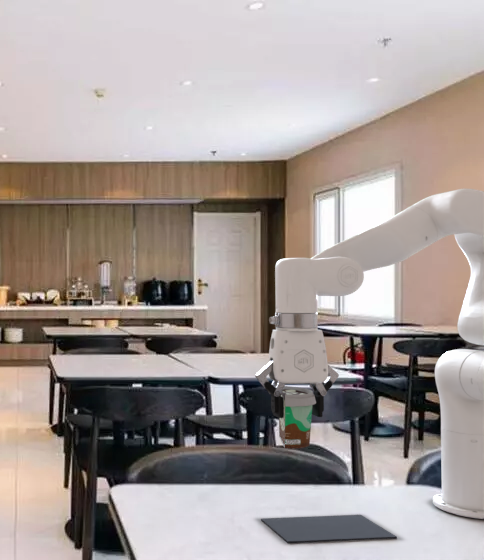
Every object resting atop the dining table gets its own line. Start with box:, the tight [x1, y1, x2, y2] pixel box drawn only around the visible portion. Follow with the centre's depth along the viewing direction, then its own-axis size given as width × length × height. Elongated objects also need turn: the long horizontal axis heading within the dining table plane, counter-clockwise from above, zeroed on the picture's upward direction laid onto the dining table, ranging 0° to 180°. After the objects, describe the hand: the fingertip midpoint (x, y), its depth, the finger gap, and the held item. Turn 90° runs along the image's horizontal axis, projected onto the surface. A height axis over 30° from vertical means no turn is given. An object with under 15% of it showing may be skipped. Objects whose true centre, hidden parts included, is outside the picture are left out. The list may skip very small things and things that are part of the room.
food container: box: [278, 385, 316, 450], centre depth 118 cm, size 12×6×10 cm, turn 167°
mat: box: [260, 514, 398, 544], centre depth 112 cm, size 20×11×1 cm, turn 97°
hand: (297, 415), depth 118 cm, fingers closed on food container, 7 cm apart
